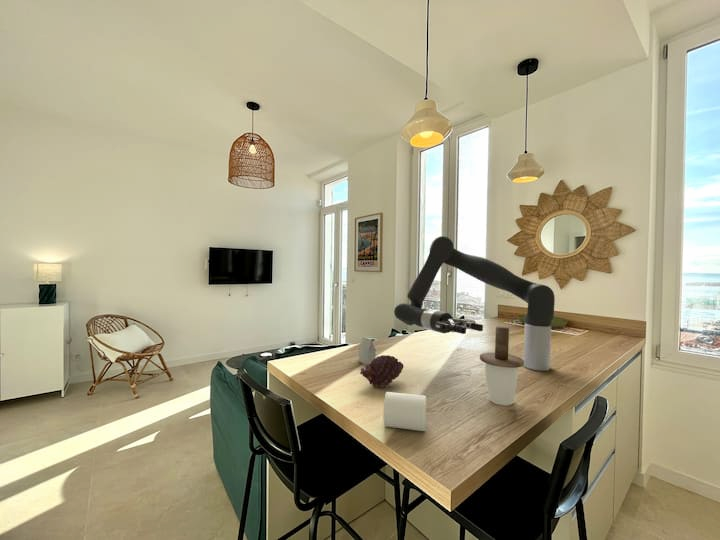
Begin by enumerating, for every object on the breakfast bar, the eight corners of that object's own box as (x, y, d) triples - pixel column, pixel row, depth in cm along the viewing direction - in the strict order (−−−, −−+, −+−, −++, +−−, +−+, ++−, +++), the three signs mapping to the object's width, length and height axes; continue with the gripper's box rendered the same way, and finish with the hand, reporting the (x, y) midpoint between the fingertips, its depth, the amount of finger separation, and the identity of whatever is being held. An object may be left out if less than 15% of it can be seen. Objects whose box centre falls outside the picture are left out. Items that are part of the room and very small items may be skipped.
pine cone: (393, 375, 113) (394, 347, 112) (413, 384, 105) (414, 354, 104) (353, 386, 102) (354, 355, 102) (372, 396, 94) (373, 364, 94)
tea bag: (367, 366, 122) (367, 340, 122) (358, 361, 128) (359, 336, 128) (375, 364, 124) (375, 339, 124) (366, 359, 130) (367, 336, 130)
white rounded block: (425, 438, 73) (426, 404, 72) (382, 432, 75) (383, 399, 74) (425, 413, 84) (426, 384, 84) (388, 409, 86) (389, 381, 86)
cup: (479, 394, 98) (481, 356, 98) (509, 395, 97) (510, 356, 97) (490, 407, 89) (492, 365, 88) (523, 408, 88) (524, 366, 88)
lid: (497, 353, 101) (498, 322, 101) (533, 364, 90) (534, 329, 90) (471, 357, 95) (472, 325, 95) (505, 370, 85) (506, 333, 85)
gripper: (422, 312, 111) (459, 319, 97) (450, 309, 118) (487, 316, 105) (422, 333, 111) (459, 343, 97) (449, 329, 119) (487, 338, 105)
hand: (474, 329), depth 101 cm, fingers open, 8 cm apart
